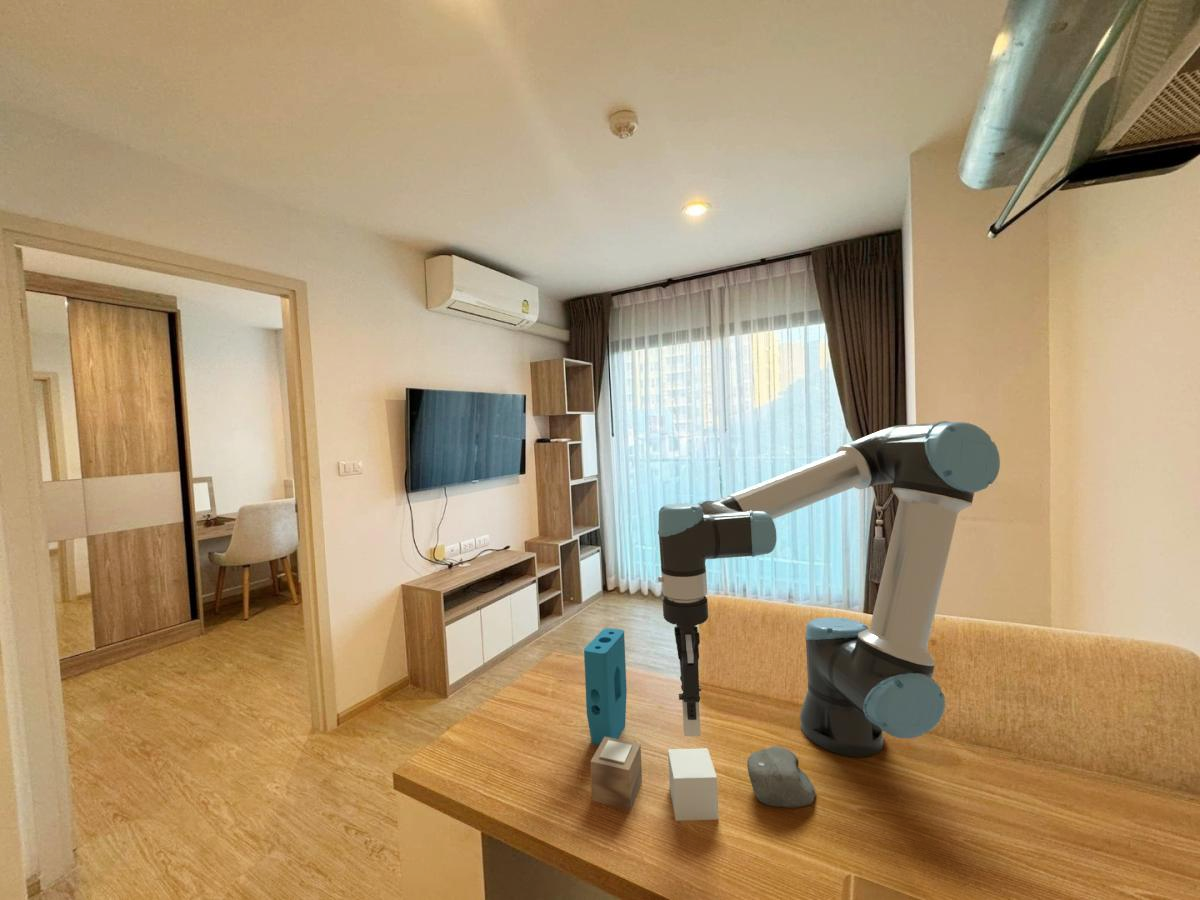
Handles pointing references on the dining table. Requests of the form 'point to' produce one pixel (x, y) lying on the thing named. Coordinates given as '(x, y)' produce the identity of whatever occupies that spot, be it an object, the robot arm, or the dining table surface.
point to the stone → (779, 778)
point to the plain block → (693, 784)
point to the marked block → (616, 773)
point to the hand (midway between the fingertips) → (692, 733)
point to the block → (606, 684)
